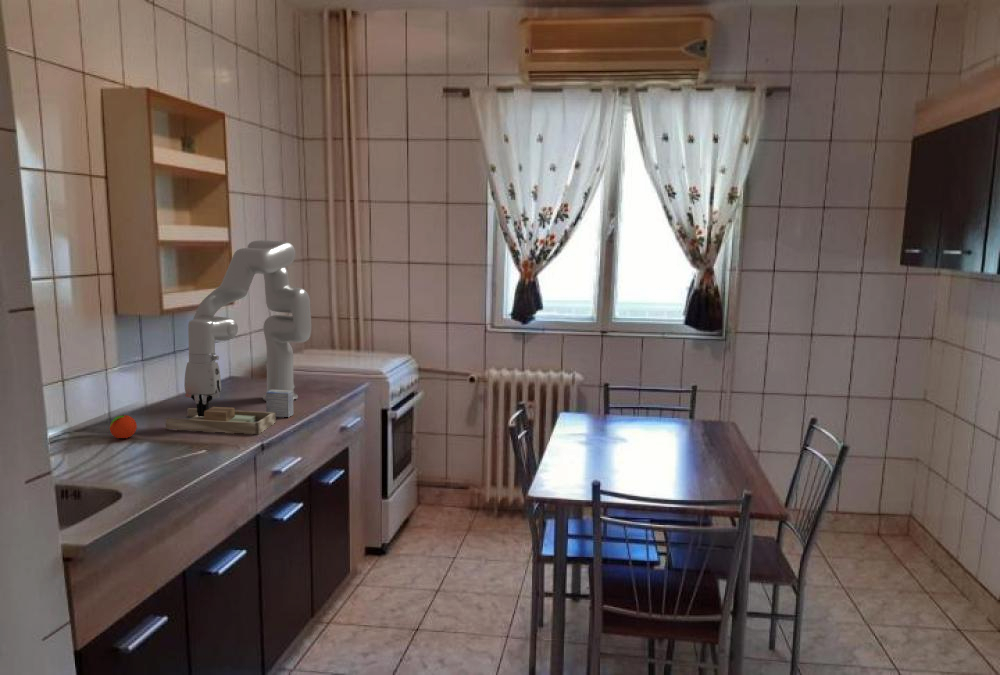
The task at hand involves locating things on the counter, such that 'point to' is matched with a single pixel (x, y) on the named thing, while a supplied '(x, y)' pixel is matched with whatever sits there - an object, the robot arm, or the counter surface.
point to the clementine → (123, 426)
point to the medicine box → (280, 402)
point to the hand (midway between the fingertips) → (202, 415)
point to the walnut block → (219, 414)
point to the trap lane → (225, 422)
